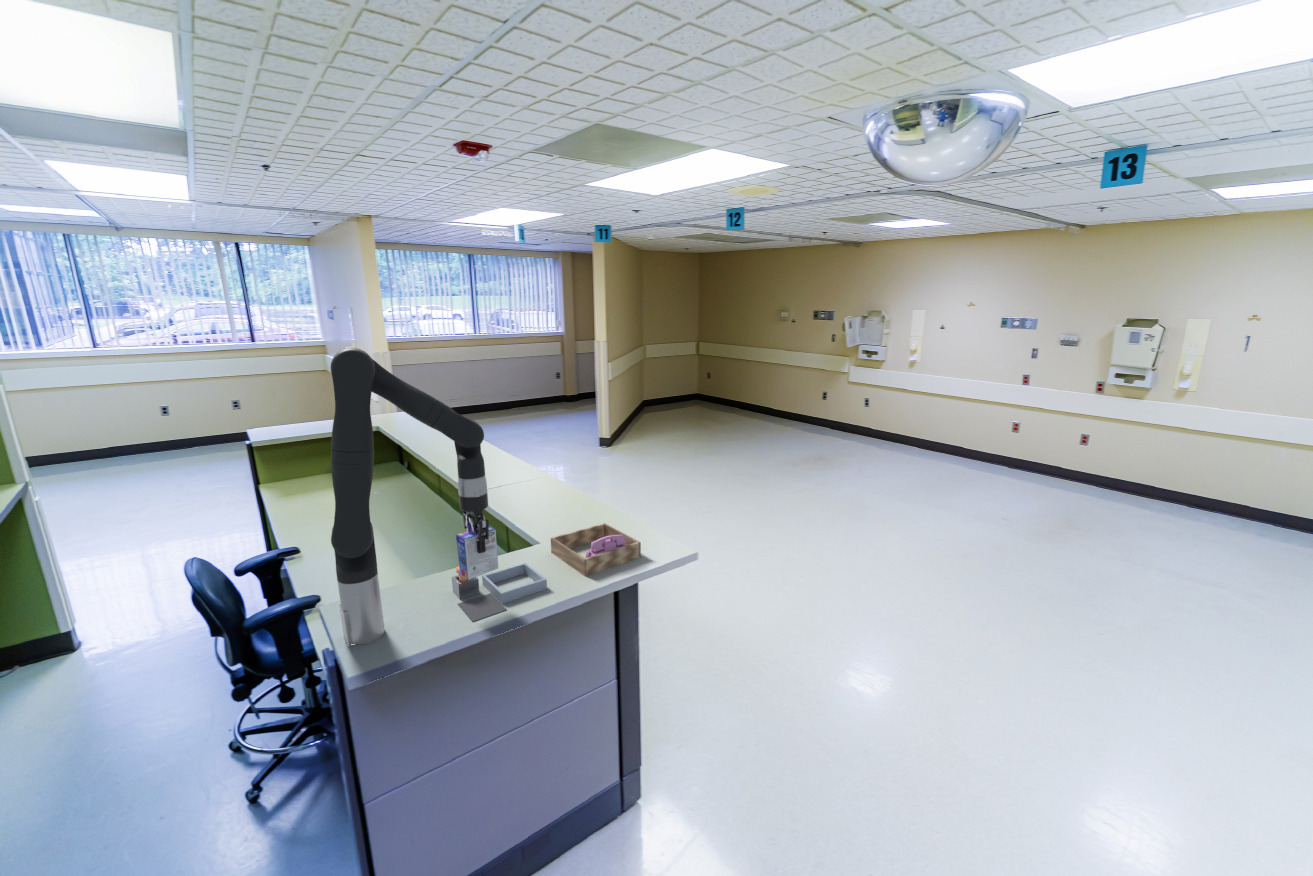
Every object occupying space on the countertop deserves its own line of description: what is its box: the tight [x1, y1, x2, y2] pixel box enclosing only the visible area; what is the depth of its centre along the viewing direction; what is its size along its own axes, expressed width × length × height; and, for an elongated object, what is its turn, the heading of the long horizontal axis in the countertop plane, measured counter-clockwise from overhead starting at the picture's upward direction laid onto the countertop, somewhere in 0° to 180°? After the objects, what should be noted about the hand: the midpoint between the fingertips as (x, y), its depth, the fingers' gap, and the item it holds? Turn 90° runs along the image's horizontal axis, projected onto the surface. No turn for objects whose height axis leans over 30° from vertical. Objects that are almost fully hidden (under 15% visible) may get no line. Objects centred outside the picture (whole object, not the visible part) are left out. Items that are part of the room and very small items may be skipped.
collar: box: [481, 562, 548, 605], centre depth 172 cm, size 15×15×4 cm
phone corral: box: [550, 523, 642, 577], centre depth 194 cm, size 23×23×6 cm
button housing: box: [451, 574, 480, 600], centre depth 168 cm, size 6×6×5 cm
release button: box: [455, 565, 471, 583], centre depth 168 cm, size 5×5×8 cm
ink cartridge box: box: [455, 523, 499, 580], centre depth 156 cm, size 10×6×14 cm, turn 138°
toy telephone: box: [585, 535, 626, 558], centre depth 187 cm, size 18×6×10 cm, turn 125°
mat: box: [457, 592, 508, 623], centre depth 160 cm, size 10×12×1 cm
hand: (477, 548), depth 156 cm, fingers closed on ink cartridge box, 5 cm apart
